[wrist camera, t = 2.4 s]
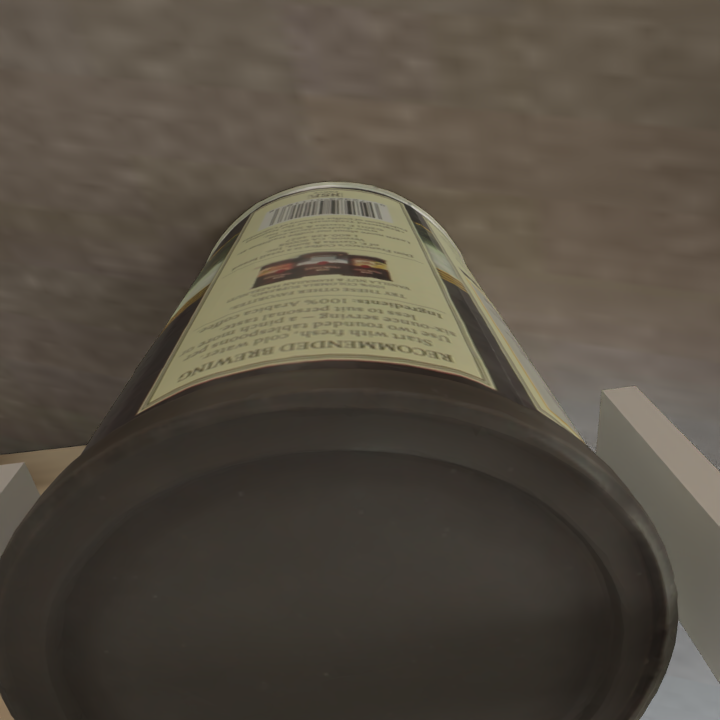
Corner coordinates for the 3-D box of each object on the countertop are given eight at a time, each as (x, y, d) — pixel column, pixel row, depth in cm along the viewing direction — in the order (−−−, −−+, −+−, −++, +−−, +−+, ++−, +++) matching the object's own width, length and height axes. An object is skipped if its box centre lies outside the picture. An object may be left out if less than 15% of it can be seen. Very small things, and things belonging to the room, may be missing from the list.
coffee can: (292, 475, 24) (244, 908, 12) (138, 270, 20) (-194, 604, 8) (519, 369, 22) (750, 751, 10) (401, 118, 18) (540, 226, 6)
